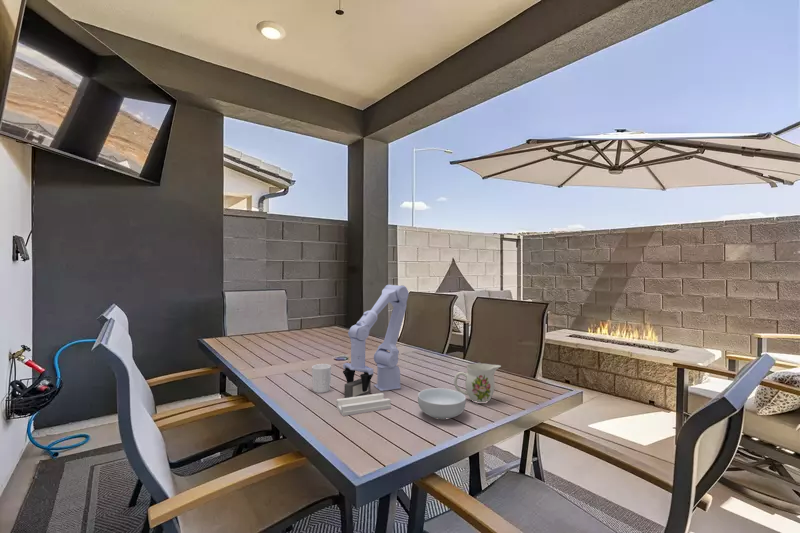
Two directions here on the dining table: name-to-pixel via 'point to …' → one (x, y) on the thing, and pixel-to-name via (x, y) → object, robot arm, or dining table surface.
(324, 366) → the white cup
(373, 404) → the ledge
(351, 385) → the grey rectangular block
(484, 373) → the pitcher
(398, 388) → the robot arm
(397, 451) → the dining table surface
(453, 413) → the cereal bowl
